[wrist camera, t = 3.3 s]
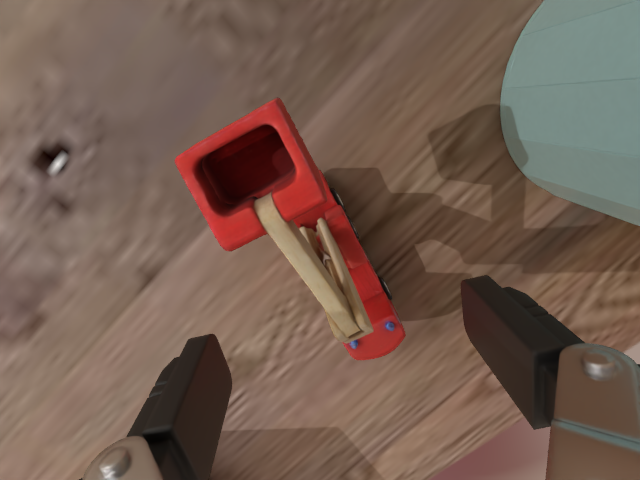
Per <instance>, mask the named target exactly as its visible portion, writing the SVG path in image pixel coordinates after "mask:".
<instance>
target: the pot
mask: <svg viewBox="0 0 640 480" xmlns="http://www.w3.org/2000/svg"><path fill="white" fill-rule="evenodd" d="M500 117H501V127H502V132H503V136H504V140H505V143H506V146H507V148H508V151H509V153H510V155H511V157H512V159H513V160H514V162H515V164H516V165H517V167H518V168H519V169H520V170H521V172H522V173H523V174H524V175H525V176H526V177H527V178H528V179H530V180H531V181H532V182H533V183H535V184H536V185H538V186H539V187H541V188H543V189H545V190H547V191H548V192H550V193H551V194H552V195H555V196H557V197H560V198H563V199H565V200H568V201H571V202H574V203H577V204H579V205H582V206H585V207H588V208H590V209H593V210H596V211H599V212H602V213H604V214H607V215H610V216H613V217H615V218H618V219H621V220H624V221H626V222H629V223H632V224H635V225H638V226H640V0H544V1H543V2H542V4H541V5H540V6H539V7H538V9H537V10H536V11H535V12H534V14H533V15H532V17H531V18H530V20H529V21H528V23H527V24H526V26H525V28H524V29H523V31H522V33H521V35H520V37H519V38H518V40H517V42H516V44H515V46H514V49H513V51H512V54H511V56H510V59H509V62H508V64H507V68H506V72H505V75H504V79H503V84H502V91H501V100H500Z"/></svg>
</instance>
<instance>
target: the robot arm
mask: <svg viewBox="0 0 640 480" xmlns="http://www.w3.org/2000/svg"><path fill="white" fill-rule="evenodd" d="M461 296H462V307H463V319H464V326H465V329H466V332H467V335H468V337H469V339H470V341H471V343H472V344H473V345H474V347H475V348H476V350H477V351H478V352H479V354H480V355H481V356H482V358H483V359H484V361H485V362H486V363H487V365H488V366H489V368H490V369H491V370H492V372H493V373H494V375H495V376H496V377H497V379H498V380H499V382H500V383H501V384H502V386H503V387H504V388H505V390H506V391H507V393H508V394H509V395H510V397H511V398H512V400H513V401H514V402H515V404H516V405H517V407H518V408H519V409H520V411H521V412H522V414H523V415H524V416H525V418H526V419H527V421H528V422H529V423H530V425H531V426H532V427H533V429H534V430H535V429H539V428H545V427H550V426H551V430H550V440H549V450H548V461H547V469H546V479H545V480H640V364H636V363H635V362H634V360H632V359H631V358H630V357H628V356H627V355H625V354H624V353H622V352H620V351H618V350H615V349H613V348H610V347H606V346H603V345H598V344H588V343H585V342H583V341H582V340H581V339H580V338H579V337H577V336H576V335H575V334H574V333H573V332H571V331H570V330H569V329H568V328H567V327H565V326H564V325H563V324H562V323H561V322H559V321H558V320H557V319H556V318H554V317H553V316H552V315H551V314H548V312H547V311H546V310H545V309H544V308H542V307H541V306H538V303H536V302H535V301H534V300H533V299H532V298H530V297H529V296H528V295H527V294H525V293H523V292H520V291H518V290H516V289H513V288H511V287H506V288H501V287H500V286H499V285H498V284H497V283H496V282H495V281H494V280H492V279H491V278H490V277H489V276H487V275H484V276H480V277H475V278H470V279H466V280H462V282H461ZM231 390H232V379H231V373H230V370H229V367H228V365H227V362H226V360H225V357H224V355H223V352H222V350H221V347H220V345H219V342H218V340H217V338H216V336H215V335H214V334H209V335H204V336H199V337H195V338H190V339H189V340H188V341H187V343H186V345H185V347H184V349H183V351H182V353H181V355H180V357H176V358H174V359H173V360H172V361H171V362H170V363H169V364H168V365H167V366H166V367H165V368H164V369H163V370H162V372H161V374H160V376H159V378H158V380H157V381H156V383H155V386H154V387H153V389H152V391H151V393H150V394H149V398H147V400H146V402H145V404H144V405H143V407H142V409H141V411H140V413H139V415H138V417H137V418H136V420H135V422H134V424H133V426H132V428H131V430H130V431H129V433H128V435H127V437H126V438H124V439H121V440H119V441H117V442H115V443H113V444H112V445H110V446H109V447H107V448H106V449H105V450H103V451H102V452H101V453H100V454H99V455H98V456H97V457H96V458H95V459H94V460H93V461H92V462H91V464H90V465H89V467H88V468H87V470H86V472H85V474H84V476H83V478H81V479H79V480H209V476H210V472H211V468H212V464H213V460H214V457H215V453H216V449H217V445H218V441H219V437H220V433H221V429H222V425H223V422H224V418H225V414H226V410H227V406H228V402H229V398H230V394H231Z"/></svg>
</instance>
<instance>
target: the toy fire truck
mask: <svg viewBox="0 0 640 480" xmlns="http://www.w3.org/2000/svg"><path fill="white" fill-rule="evenodd" d="M175 164H176V166H177V168H178V170H179V171H180V173H181V175H182V177H183V179H184V181H185V183H186V185H187V187H188V189H189V190H190V192H191V194H192V195H193V197H194V199H195V201H196V203H197V205H198V206H199V208H200V210H201V212H202V213H203V215H204V217H205V219H206V220H207V222H208V224H209V227H210V229H211V230H212V232H213V233H214V235H215V238H216V239H217V240H218V242H219V244H220V246H222V247H223V249H225V250H226V251H233V250H235V249H237V248H239V247H241V246H243V245H245V244H247V243H249V242H251V241H252V240H254V239H257V238H259V237H261V236H263V235H266V234H268V235H270V236H271V237H272V239H273V240H274V241H275V243H276V244H277V246H278V247H279V248H280V250H281V251H282V252H283V253H284V255H285V256H286V257H287V259H288V260H289V262H290V263H291V264H292V266H293V267H294V268H295V269H296V271H297V272H298V274H299V275H300V276H301V278H302V279H303V280H304V282H305V283H306V284H307V286H308V287H309V288H310V290H311V291H312V292H313V294H314V295H315V296H316V298H317V300H318V301H319V302H320V303H321V304H322V306H323V307H324V310H325V313H326V316H327V319H328V321H329V324H330V327H331V330H332V332H333V334H334V336H335V337H336V339H337V340H338V341H341V342H342V343H343V344H344V346H345V347H346V349H347V350H348V352H349V353H350V355H351V356H352V357H353V358H354V359H356V360H368V359H374V358H378V357H382V356H384V355H387V354H388V353H390V352H391V351H393V350H394V349H395V348H397V346H398V345H399V344H400V343H401V342H402V340H403V339H404V337H405V336H406V335H405V331H404V328H403V326H402V324H401V322H400V320H399V318H398V314H397V312H396V310H395V308H394V306H393V304H392V302H391V299H392V296H391V293H390V291H389V289H388V287H387V286H386V284H385V282H384V281H383V279H382V278H379V279H378V277H377V275H376V273H375V271H374V269H373V267H372V265H371V263H370V261H369V259H368V258H367V256H366V254H365V252H364V250H363V248H362V247H361V245H360V243H359V241H358V240H357V239H358V238H359V236H358V233H357V231H356V229H355V228H354V226H353V224H352V221H351V220H350V218H349V217H348V216H346V214H345V208H344V205H343V203H342V201H341V200H340V198H339V196H338V194H337V192H336V191H335V189H329V186H328V184H327V181H326V179H325V177H324V176H323V174H322V172H321V170H318V168H317V166H316V165H315V163H314V161H313V159H312V157H311V156H310V154H309V152H308V150H307V148H306V146H305V144H304V142H303V139H302V138H301V136H300V135H299V133H298V130H297V129H296V127H295V124H294V123H293V121H292V120H291V117H290V115H289V113H288V112H287V110H286V108H285V106H284V104H283V102H282V101H281V99H280V98H276V99H274V100H272V101H270V102H268V103H266V104H264V105H263V106H261V107H259V108H257V109H255V110H254V111H252V112H251V113H249V114H247V115H246V116H244V117H242V118H241V119H239V120H237V121H235V122H233V123H232V124H230V125H228V126H226V127H224V128H223V129H221V130H220V131H218V132H216V133H214V134H213V135H211V136H209V137H207V138H206V139H204V140H202V141H201V142H199V143H197V144H195V145H194V146H192V147H191V148H189V149H188V150H186V151H185V152H184V153H182V154H180V155H179V156H177V157H176V159H175Z"/></svg>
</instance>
